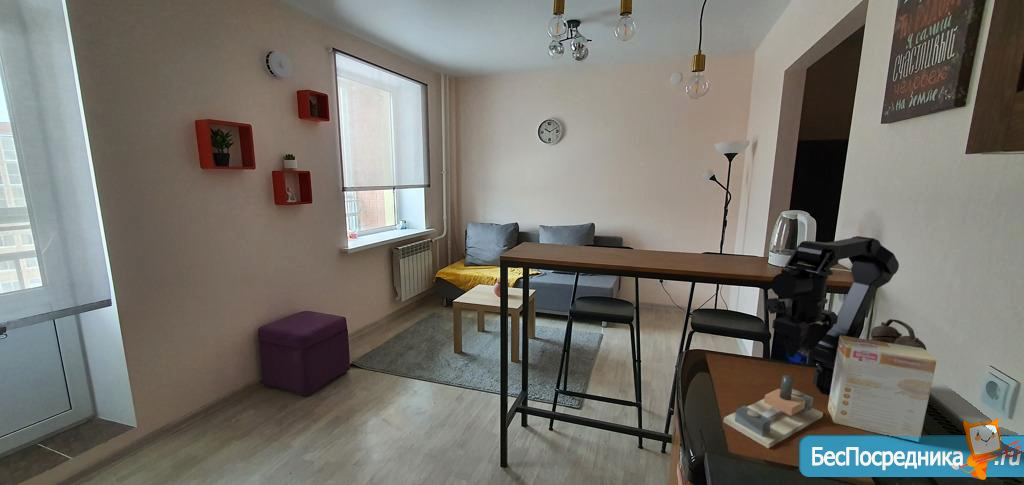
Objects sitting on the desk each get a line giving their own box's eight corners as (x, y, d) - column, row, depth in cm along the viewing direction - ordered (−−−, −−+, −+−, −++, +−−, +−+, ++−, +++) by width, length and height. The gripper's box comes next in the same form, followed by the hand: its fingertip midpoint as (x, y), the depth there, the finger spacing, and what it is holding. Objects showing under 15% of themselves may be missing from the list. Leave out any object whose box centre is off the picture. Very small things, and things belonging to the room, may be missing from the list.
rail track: (777, 396, 103) (779, 380, 102) (822, 417, 94) (825, 399, 93) (723, 422, 92) (725, 404, 91) (768, 448, 83) (770, 429, 82)
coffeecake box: (907, 426, 91) (923, 347, 88) (920, 444, 85) (939, 360, 81) (826, 407, 98) (838, 333, 94) (833, 423, 92) (846, 345, 88)
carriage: (777, 395, 98) (781, 368, 97) (804, 408, 93) (809, 380, 92) (763, 402, 95) (767, 374, 94) (790, 415, 90) (795, 386, 89)
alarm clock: (926, 410, 97) (943, 334, 94) (892, 407, 99) (907, 331, 95) (884, 380, 111) (898, 313, 108) (855, 377, 113) (867, 311, 109)
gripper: (793, 280, 107) (785, 334, 110) (754, 289, 98) (746, 348, 101) (843, 291, 97) (833, 350, 100) (804, 302, 89) (794, 367, 91)
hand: (800, 353), depth 98 cm, fingers open, 9 cm apart
